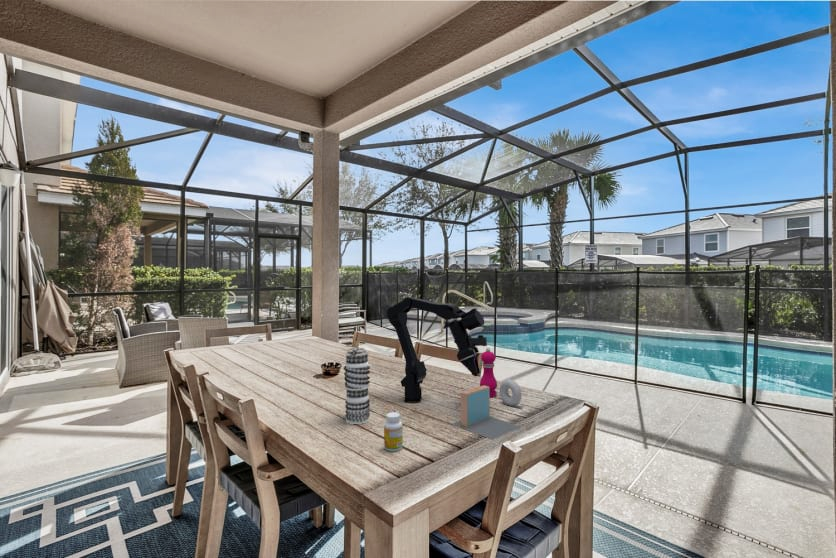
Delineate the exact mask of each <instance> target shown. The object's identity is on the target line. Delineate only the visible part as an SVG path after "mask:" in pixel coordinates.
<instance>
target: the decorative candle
mask: <svg viewBox="0 0 836 558" xmlns="http://www.w3.org/2000/svg"><path fill="white" fill-rule="evenodd" d="M344 355H345V356H346V357H345V360H346V361H345V365H344V366H343V371H344V381H345V382H344V387H345V389H346V395H345V402H344V403H345V406H344V407H345V423H347V422H348V423H350V424H349V425H353V424H358V425H363V424H362V423H364V424H366V423H368V422H369V421H370V420H371V418H370V415H371V414H370V411H371V409H370V406H371V405H370V401H371V400H370V398H369V396H370V395H369V394H370V393H369V387H370V383H371V381H370V380H369V379H370V377H371V376H369V374H370V373H371V371H370V369H371V366H369V360H368V358H369V356H368V355H369V352H368V351H367V350H366V349H365V348H363V347H352V348H349V349H348V350H347V352H346V353H344ZM348 423H347V424H348Z"/></svg>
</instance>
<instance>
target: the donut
mask: <svg viewBox="0 0 836 558" xmlns="http://www.w3.org/2000/svg"><path fill="white" fill-rule="evenodd" d="M499 385H500V386H499V396H500V398H501V400H502V402H504V403H505V404H506V405H507V406H511V407H515V406H518V405H519V403H520V402H521V399H522V396H523V395H522V390H521V387H520V385H519V383H517V382H516V381H515V380H513V379H508V378H507V379H505V380H503V381H502V382H501V384H499ZM509 389H510V391H511V393H512V395H510V394H509Z"/></svg>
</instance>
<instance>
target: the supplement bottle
mask: <svg viewBox="0 0 836 558" xmlns="http://www.w3.org/2000/svg"><path fill="white" fill-rule="evenodd" d="M385 417H386V418H385V422H384V424H383V433H384V434H383V440H384V442H383V445H384V449H385V450H386V451H387V452H399V451H401V450H402V448H403V446H404V445H403V444H404V443H403V440H404V437H403V422H402V421H401V414H400V413H399V412H393V411H392V412H389V413H387V414H386V416H385Z"/></svg>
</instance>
